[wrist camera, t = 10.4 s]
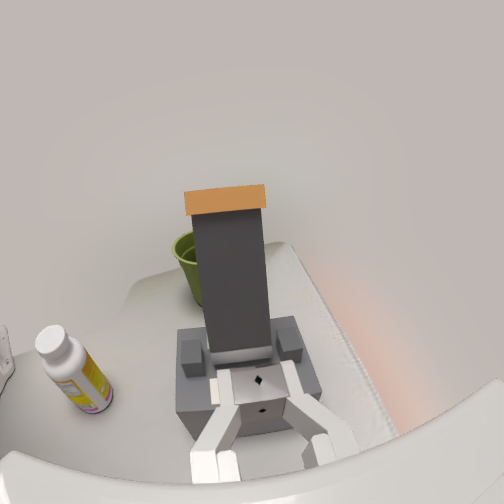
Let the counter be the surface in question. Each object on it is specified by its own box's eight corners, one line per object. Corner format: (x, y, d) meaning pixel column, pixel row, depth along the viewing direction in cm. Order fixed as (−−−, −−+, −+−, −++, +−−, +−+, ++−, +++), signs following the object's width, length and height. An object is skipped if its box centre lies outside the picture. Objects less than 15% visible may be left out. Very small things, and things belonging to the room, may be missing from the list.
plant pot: (194, 327, 43) (181, 272, 37) (177, 287, 52) (166, 236, 46) (258, 306, 47) (257, 250, 41) (232, 271, 56) (228, 221, 50)
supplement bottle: (99, 371, 34) (61, 310, 27) (122, 397, 30) (80, 338, 24) (69, 393, 29) (24, 336, 23) (89, 423, 26) (37, 369, 19)
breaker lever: (277, 361, 25) (264, 184, 23) (208, 370, 24) (184, 191, 22) (272, 349, 28) (259, 187, 25) (209, 357, 27) (187, 194, 25)
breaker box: (309, 424, 28) (326, 378, 22) (194, 440, 26) (168, 400, 20) (288, 358, 37) (294, 300, 31) (191, 370, 35) (173, 314, 29)
